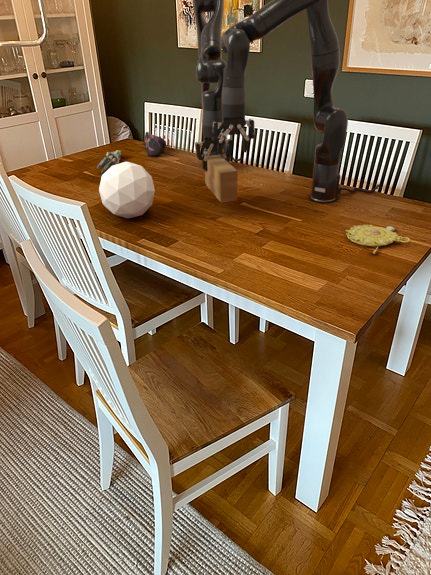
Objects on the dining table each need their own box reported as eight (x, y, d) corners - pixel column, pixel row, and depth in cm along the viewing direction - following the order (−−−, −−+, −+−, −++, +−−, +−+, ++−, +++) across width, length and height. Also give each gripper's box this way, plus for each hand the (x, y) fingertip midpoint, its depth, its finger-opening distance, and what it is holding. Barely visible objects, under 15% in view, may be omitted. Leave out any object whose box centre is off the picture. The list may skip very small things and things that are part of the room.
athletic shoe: (152, 146, 217) (175, 145, 222) (140, 122, 229) (162, 121, 233) (150, 166, 226) (172, 164, 230) (139, 141, 238) (160, 140, 242)
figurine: (101, 154, 197) (119, 141, 223) (91, 167, 200) (110, 152, 227) (114, 165, 199) (130, 151, 225) (103, 178, 203) (121, 162, 229)
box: (205, 183, 170) (204, 156, 165) (220, 181, 172) (219, 154, 166) (220, 202, 154) (220, 172, 148) (237, 200, 156) (237, 170, 150)
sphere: (119, 231, 167) (91, 184, 164) (165, 204, 169) (137, 158, 167) (116, 226, 148) (83, 173, 146) (167, 196, 150) (136, 144, 148)
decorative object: (355, 216, 152) (417, 225, 142) (354, 223, 153) (416, 232, 143) (334, 239, 137) (402, 251, 127) (334, 247, 138) (401, 259, 128)
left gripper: (196, 126, 152) (198, 174, 161) (235, 123, 155) (236, 170, 164) (190, 122, 158) (193, 168, 167) (229, 118, 161) (229, 164, 170)
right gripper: (215, 104, 136) (215, 157, 145) (259, 102, 139) (256, 154, 148) (209, 100, 142) (209, 151, 151) (250, 98, 146) (248, 148, 154)
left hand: (214, 169), depth 165 cm, fingers closed on box, 6 cm apart
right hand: (232, 152), depth 149 cm, fingers open, 8 cm apart
